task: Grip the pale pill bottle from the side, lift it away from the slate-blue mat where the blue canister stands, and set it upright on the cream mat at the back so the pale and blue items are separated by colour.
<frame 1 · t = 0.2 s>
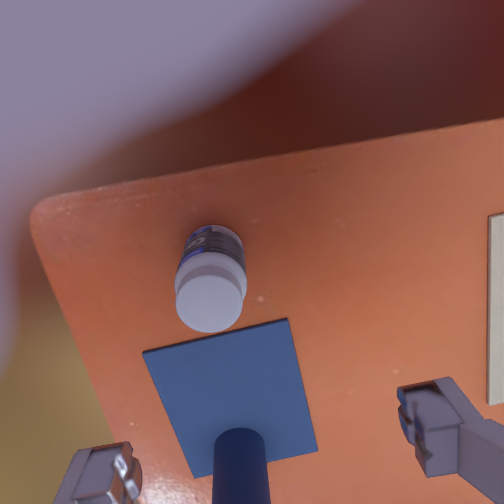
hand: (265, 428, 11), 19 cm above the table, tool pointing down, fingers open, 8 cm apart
blue mat: (236, 403, 36), on the table
pill bottle: (214, 251, 30), on the table
blue canister: (239, 446, 37), resting on blue mat
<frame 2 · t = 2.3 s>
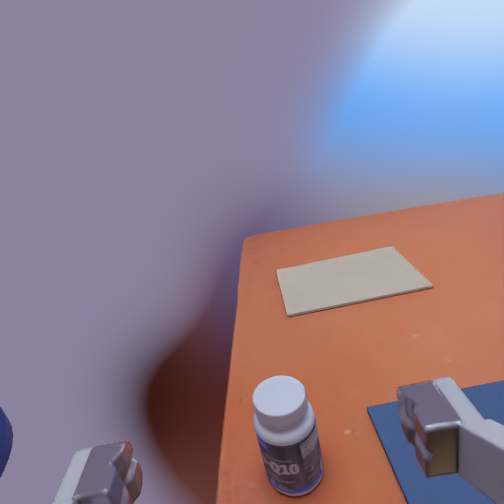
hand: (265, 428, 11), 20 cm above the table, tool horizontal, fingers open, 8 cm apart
blue mat: (498, 455, 29), on the table
cream mat: (345, 279, 57), on the table
pill bottle: (296, 471, 31), on the table
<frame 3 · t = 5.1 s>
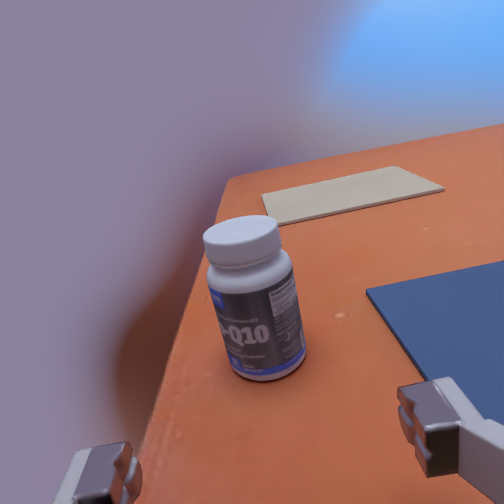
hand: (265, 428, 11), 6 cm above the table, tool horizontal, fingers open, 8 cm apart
cream mat: (340, 194, 49), on the table
pill bottle: (269, 357, 23), on the table
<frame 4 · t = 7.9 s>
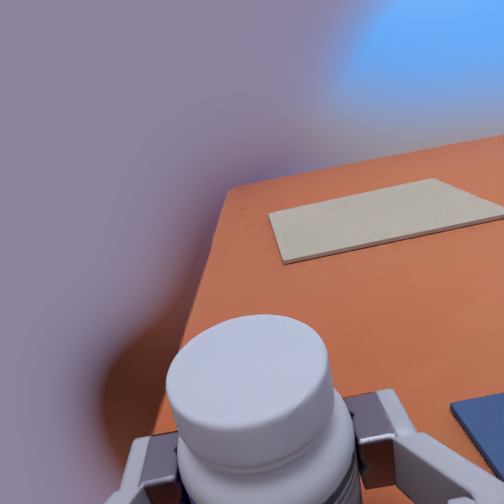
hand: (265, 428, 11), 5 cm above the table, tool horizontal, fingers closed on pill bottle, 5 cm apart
cream mat: (370, 216, 39), on the table
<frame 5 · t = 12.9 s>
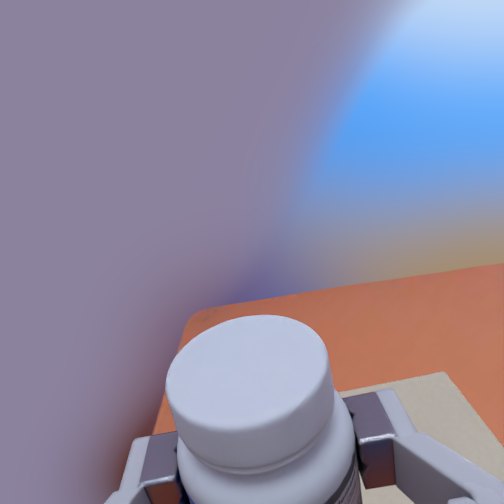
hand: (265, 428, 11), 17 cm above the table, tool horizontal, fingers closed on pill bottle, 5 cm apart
cream mat: (357, 469, 27), on the table
when the fingers open (5 cm above the table, at t = 17.9 s): pill bottle stays where it is, resting on cream mat.
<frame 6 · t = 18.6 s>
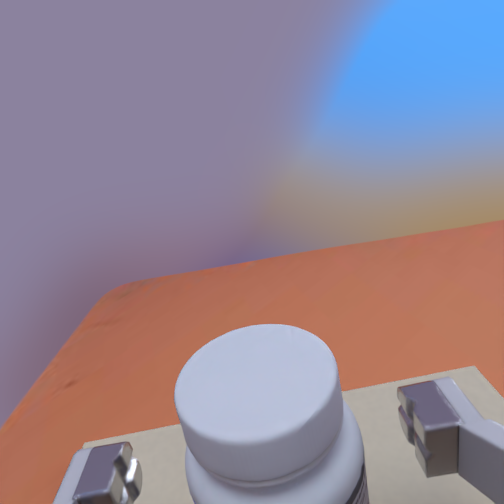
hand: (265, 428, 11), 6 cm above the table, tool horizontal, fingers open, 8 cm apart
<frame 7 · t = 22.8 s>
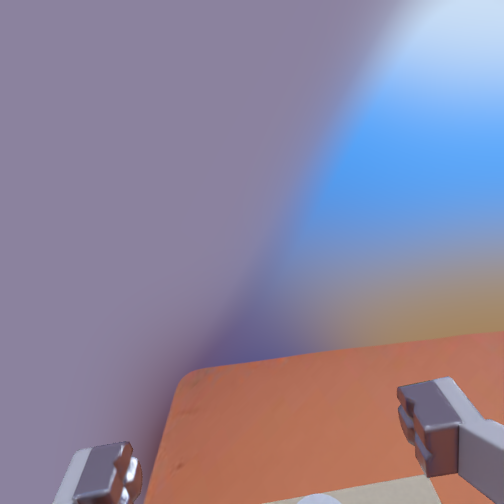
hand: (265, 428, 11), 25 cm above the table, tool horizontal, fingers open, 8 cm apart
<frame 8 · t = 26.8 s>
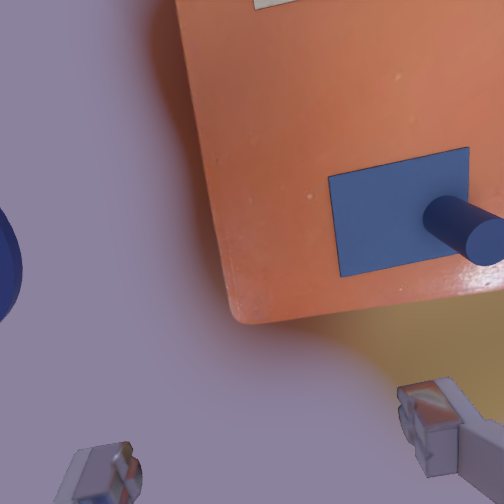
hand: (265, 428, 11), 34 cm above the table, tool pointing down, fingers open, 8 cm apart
blue mat: (400, 215, 45), on the table
blue canister: (443, 215, 45), resting on blue mat
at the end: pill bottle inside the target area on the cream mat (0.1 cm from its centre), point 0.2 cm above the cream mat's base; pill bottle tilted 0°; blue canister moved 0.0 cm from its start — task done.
